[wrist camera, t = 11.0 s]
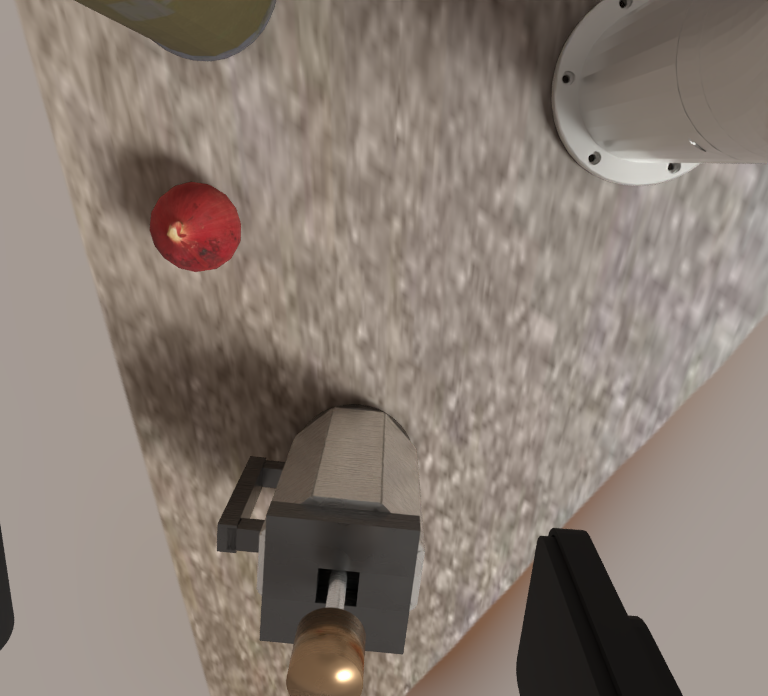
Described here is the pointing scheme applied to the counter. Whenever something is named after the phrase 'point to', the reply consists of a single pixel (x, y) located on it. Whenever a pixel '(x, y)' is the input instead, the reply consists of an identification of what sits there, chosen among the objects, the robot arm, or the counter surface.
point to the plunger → (328, 648)
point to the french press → (335, 525)
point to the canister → (191, 23)
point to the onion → (195, 227)
